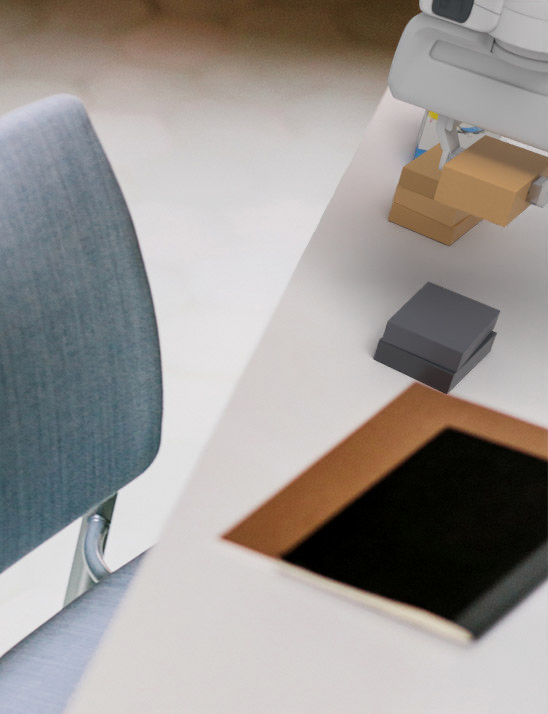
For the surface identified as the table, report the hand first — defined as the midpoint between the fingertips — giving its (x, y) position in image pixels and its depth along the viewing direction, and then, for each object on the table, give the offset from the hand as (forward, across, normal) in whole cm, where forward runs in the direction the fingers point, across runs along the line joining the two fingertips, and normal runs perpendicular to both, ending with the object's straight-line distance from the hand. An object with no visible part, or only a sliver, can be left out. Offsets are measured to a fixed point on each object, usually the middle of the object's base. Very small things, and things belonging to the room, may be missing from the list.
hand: (491, 186), depth 94 cm
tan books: (+16, +11, -23) cm, 30 cm away
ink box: (+16, +16, -37) cm, 44 cm away
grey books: (+16, 0, +1) cm, 16 cm away
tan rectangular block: (+1, 0, 0) cm, 1 cm away
